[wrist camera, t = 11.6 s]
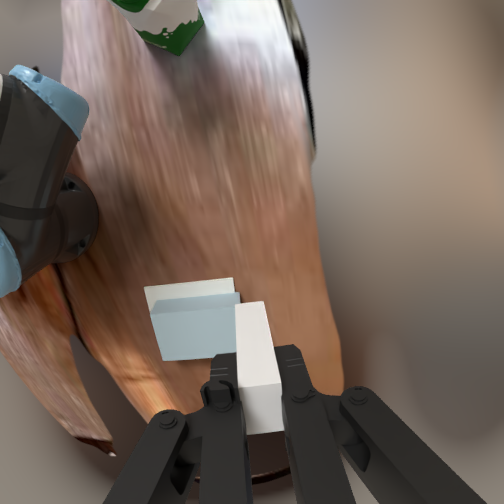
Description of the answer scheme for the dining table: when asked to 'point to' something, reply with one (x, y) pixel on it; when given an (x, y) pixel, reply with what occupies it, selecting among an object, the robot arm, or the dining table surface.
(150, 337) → the dining table surface
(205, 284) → the mat
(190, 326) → the slab
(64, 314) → the dining table surface
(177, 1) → the milk carton
